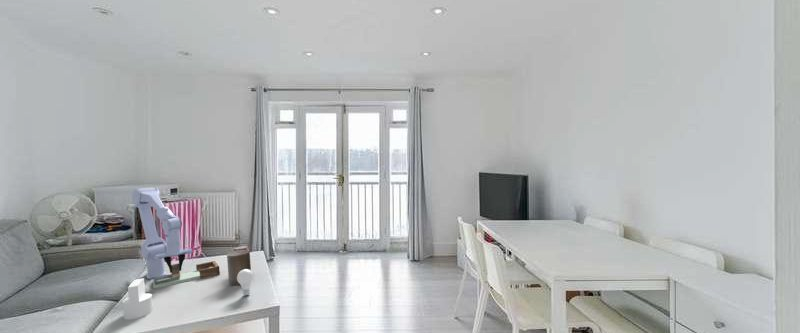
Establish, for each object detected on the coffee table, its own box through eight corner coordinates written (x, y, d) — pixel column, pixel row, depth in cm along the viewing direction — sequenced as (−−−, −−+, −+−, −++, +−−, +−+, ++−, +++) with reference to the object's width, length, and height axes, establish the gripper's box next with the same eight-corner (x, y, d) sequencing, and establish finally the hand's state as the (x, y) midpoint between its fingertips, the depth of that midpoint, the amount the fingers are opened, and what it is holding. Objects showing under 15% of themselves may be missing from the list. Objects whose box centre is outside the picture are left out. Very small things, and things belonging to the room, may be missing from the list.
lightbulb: (238, 299, 142) (236, 273, 142) (237, 294, 148) (236, 268, 147) (255, 296, 145) (253, 270, 145) (254, 291, 151) (252, 265, 150)
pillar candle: (256, 279, 164) (254, 248, 164) (236, 287, 156) (234, 253, 155) (243, 276, 169) (241, 246, 169) (224, 283, 161) (221, 251, 161)
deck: (152, 282, 166) (152, 279, 166) (198, 272, 178) (198, 270, 178) (153, 288, 158) (153, 285, 158) (201, 277, 170) (201, 275, 170)
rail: (154, 280, 166) (153, 277, 166) (177, 275, 171) (177, 272, 171) (154, 284, 160) (154, 282, 159) (179, 279, 165) (179, 277, 165)
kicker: (171, 276, 169) (170, 264, 169) (179, 275, 171) (178, 262, 170) (172, 279, 165) (171, 266, 165) (180, 277, 167) (179, 265, 166)
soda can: (244, 275, 171) (243, 249, 170) (231, 275, 172) (229, 249, 171) (253, 270, 178) (252, 245, 177) (241, 270, 179) (239, 245, 178)
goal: (196, 272, 178) (196, 264, 178) (215, 268, 183) (214, 260, 183) (200, 278, 169) (199, 270, 169) (219, 274, 174) (219, 266, 174)
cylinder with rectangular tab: (127, 311, 136) (125, 280, 135) (155, 306, 139) (153, 276, 139) (120, 321, 127) (117, 289, 127) (149, 316, 131) (147, 284, 130)
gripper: (155, 247, 159) (157, 277, 160) (192, 241, 168) (194, 269, 169) (154, 244, 165) (156, 273, 166) (190, 239, 174) (192, 266, 174)
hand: (175, 271), depth 168 cm, fingers closed on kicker, 3 cm apart
